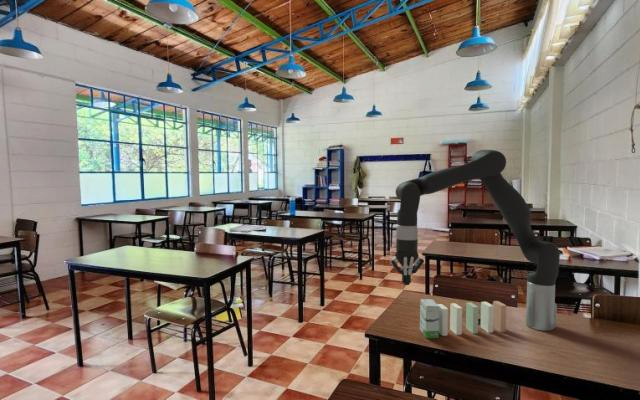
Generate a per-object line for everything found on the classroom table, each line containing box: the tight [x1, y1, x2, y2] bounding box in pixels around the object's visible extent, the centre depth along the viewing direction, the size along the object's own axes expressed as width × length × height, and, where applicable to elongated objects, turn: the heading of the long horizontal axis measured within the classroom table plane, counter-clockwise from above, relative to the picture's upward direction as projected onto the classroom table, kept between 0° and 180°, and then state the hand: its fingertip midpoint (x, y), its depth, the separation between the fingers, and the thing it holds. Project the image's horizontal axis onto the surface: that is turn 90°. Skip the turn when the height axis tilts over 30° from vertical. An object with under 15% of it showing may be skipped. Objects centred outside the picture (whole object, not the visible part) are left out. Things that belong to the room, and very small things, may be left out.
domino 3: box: [465, 302, 479, 334], centre depth 138 cm, size 2×5×10 cm, turn 7°
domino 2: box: [449, 302, 463, 336], centre depth 137 cm, size 2×5×10 cm, turn 8°
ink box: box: [419, 298, 440, 339], centre depth 135 cm, size 9×5×12 cm, turn 179°
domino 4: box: [480, 301, 494, 334], centre depth 139 cm, size 2×5×10 cm, turn 8°
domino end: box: [492, 300, 507, 333], centre depth 139 cm, size 2×5×10 cm, turn 8°
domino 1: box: [436, 303, 449, 336], centre depth 136 cm, size 2×5×10 cm, turn 8°
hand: (406, 284), depth 133 cm, fingers closed
